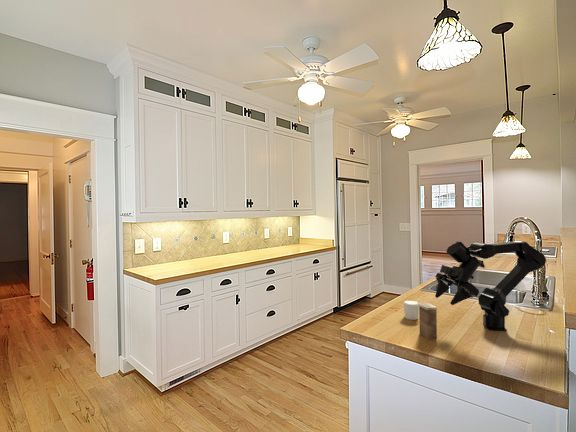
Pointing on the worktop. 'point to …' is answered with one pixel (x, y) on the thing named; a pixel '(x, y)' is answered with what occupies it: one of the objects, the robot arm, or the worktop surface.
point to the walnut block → (428, 320)
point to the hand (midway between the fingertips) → (443, 300)
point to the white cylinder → (411, 309)
